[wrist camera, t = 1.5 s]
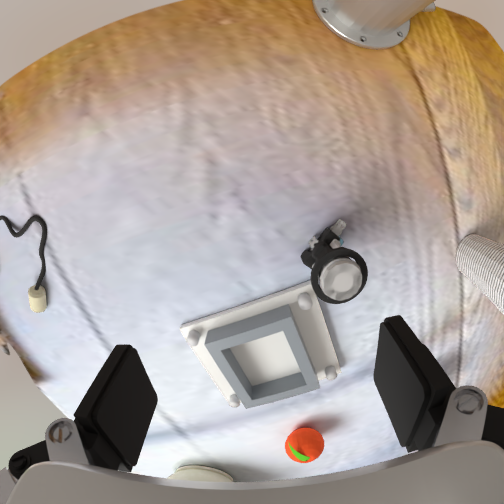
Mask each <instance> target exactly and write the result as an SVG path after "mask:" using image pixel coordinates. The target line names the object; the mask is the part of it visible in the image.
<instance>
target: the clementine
mask: <svg viewBox="0 0 504 504" xmlns="http://www.w3.org/2000/svg"><path fill="white" fill-rule="evenodd" d="M285 449H286V453H287V454H288V456H289V457H290V458H291V459H292V460H294V461H296V462H300V463H308V462H311V461H313V460H315V459H316V458H318V457H319V456H320V454H321V453H322V451H323V449H324V440H323V437H322V435H321V434H320V433H319V432H318V431H316V430H315V429H312V428H300V429H297V430H295V431H293V432H292V433H291V434H290V435H289V436H288V438H287V440H286V442H285Z"/></svg>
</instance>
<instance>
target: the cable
mask: <svg viewBox="0 0 504 504" xmlns="http://www.w3.org/2000/svg"><path fill="white" fill-rule="evenodd" d="M1 219H3V220H4V221H5V223H6V225H7V227H8V229H9V231H10V233H11V234H12V235H13V236H14V237H20V236H22V235H23V234H24V233H25V231H26V230H27V229H28V227H29V226H30V224H31V223H32V222H33V221H37V222H39V223H40V225H41V226H42V238H41V243H40V248H39V256H40V258H41V260H42V269H41V273H40V276H39V279H38V281H37V283H36V285H34V286H32V287H30V288H29V290H28V294H29V302H30V308H31V310H32V311H34V312H37V313H40V312H44V311H45V309H46V307H47V304H46V292H45V289H44V288H43V287H42V286H40V285H41V282H42V280H43V277H44V274H45V269H46V266H45V259H44V255H43V250H44V245H45V240H46V235H47V228H46V224H45V222H44V221H43V219H41V218H40V217H38V216H33V217H31V218H30V219H29V220H28V221H27V223H26V224H25V225H24V227H23V228H22V229H21V231H19V232H17V233H16V232H15V231H14V230H13V228H12V226H11V224H10V222H9V220H8V219H7V218H6V217H5V216H0V220H1Z"/></svg>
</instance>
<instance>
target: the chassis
mask: <svg viewBox="0 0 504 504" xmlns="http://www.w3.org/2000/svg"><path fill="white" fill-rule="evenodd" d="M180 331H181V332H182V334H183V336H184V337H185V339H186V342H187V344H188V345H190V347H191V348H192V350H193V352H194V353H195V355H196V356H197V358H198V359H199V361H200V362H201V364H202V365H203V367H204V368H205V370H206V371H207V373H208V374H209V376H210V377H211V379H212V380H213V382H214V383H215V384H216V386H217V387H218V389H219V390H220V392H221V393H222V394H223V396H224V397H225V399H226V400H227V401H228V403H229V405H230V406H231V407H238V406H239V405H240V403H241V402H242V403H243V405H244V406H245V408H246V409H247V408H251V407H255V406H260V405H264V404H268V403H271V402H275V401H279V400H283V399H286V398H290V397H293V396H297V395H300V394H303V393H306V392H310V391H313V390H316V389H319V388H320V385H319V380H322V379H325V378H327V379H328V380H334V379H335V378H336V377H337V374H339V373H342V372H341V369H340V366H339V363H338V359H337V356H336V353H335V350H334V347H333V344H332V341H331V338H330V335H329V332H328V329H327V326H326V323H325V320H324V317H323V314H322V311H321V308H320V305H319V302H318V299H317V296H316V294H315V292H314V290H313V288H312V285H311V280H309V281H307V282H304V283H301V284H299V285H296V286H293V287H291V288H288V289H285V290H282V291H280V292H277V293H274V294H271V295H268V296H266V297H263V298H260V299H257V300H254V301H252V302H249V303H246V304H243V305H240V306H237V307H234V308H231V309H228V310H225V311H222V312H219V313H216V314H213V315H210V316H207V317H204V318H201V319H198V320H195V321H192V322H189V323H186V324H182V325H181V326H180Z"/></svg>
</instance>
